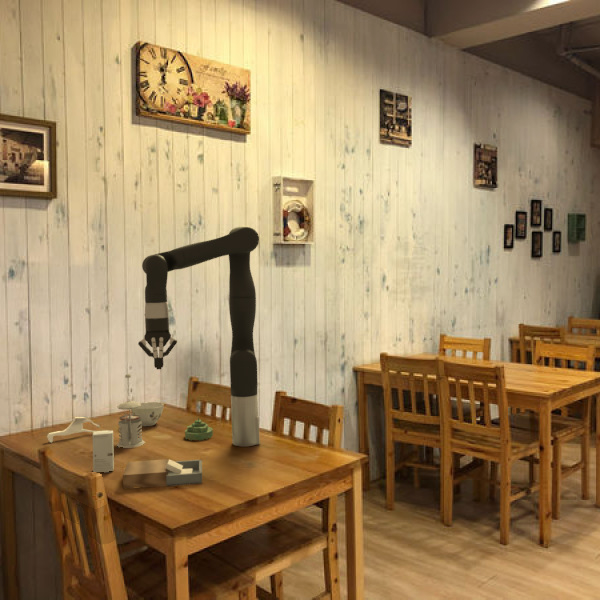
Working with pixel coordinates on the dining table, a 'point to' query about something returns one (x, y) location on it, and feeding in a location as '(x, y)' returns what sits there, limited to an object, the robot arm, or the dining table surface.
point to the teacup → (149, 412)
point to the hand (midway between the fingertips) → (159, 368)
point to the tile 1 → (174, 467)
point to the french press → (129, 425)
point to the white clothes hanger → (72, 428)
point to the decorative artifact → (198, 431)
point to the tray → (187, 478)
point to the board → (145, 473)
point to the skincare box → (103, 451)
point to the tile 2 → (186, 471)
